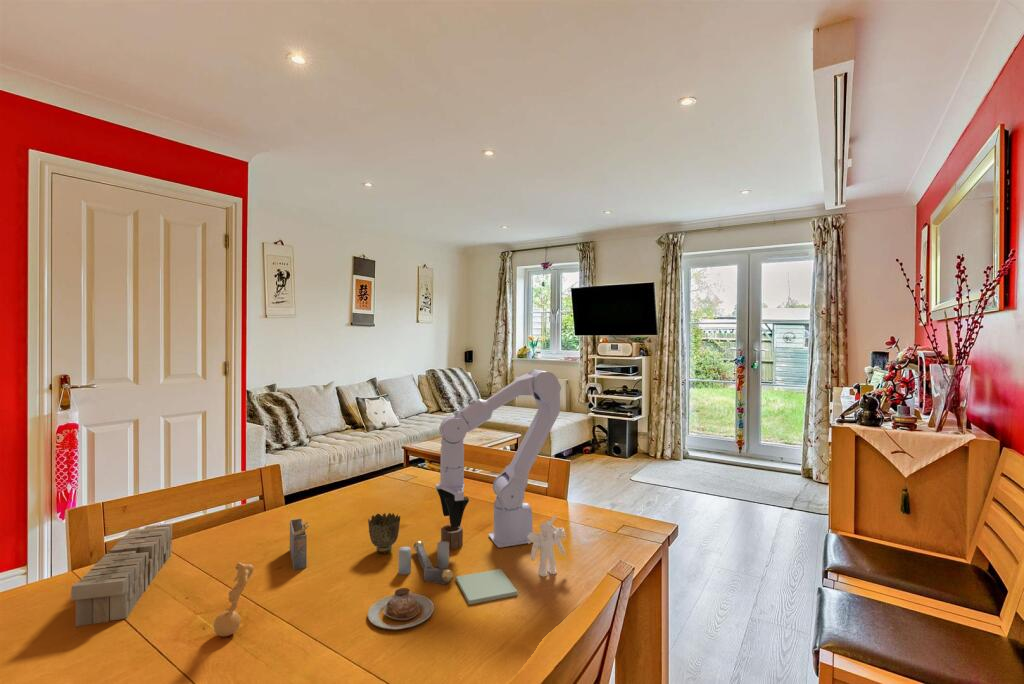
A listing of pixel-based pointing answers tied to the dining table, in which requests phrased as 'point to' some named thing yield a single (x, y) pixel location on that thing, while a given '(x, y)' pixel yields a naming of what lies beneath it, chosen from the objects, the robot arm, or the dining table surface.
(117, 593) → the block tower
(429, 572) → the rail
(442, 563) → the post inner
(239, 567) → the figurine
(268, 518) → the dining table surface
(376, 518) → the cup
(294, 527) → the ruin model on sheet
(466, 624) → the dining table surface
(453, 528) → the napkin ring
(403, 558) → the grey rounded cylinder
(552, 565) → the hat wearing toy figure
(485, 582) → the pad
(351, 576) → the dining table surface
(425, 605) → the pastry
